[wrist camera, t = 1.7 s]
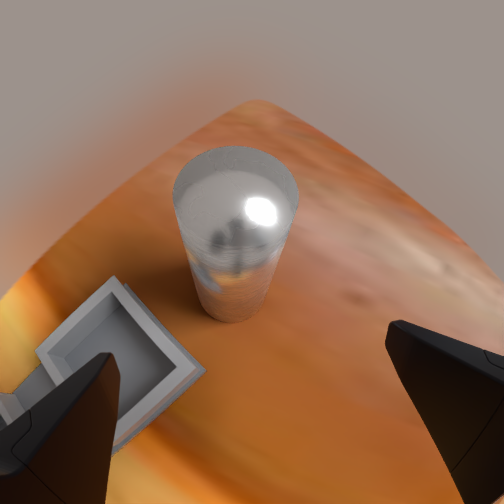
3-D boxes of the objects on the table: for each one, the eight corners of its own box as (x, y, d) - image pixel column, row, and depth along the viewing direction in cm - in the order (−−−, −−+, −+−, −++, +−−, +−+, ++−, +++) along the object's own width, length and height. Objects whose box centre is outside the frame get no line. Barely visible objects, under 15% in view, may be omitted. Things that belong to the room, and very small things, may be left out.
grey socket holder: (34, 517, 12) (13, 526, 9) (-21, 438, 14) (-45, 437, 11) (206, 370, 20) (202, 367, 17) (129, 287, 22) (115, 269, 19)
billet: (264, 324, 22) (301, 251, 11) (194, 320, 21) (161, 241, 11) (265, 261, 24) (296, 151, 13) (201, 257, 24) (184, 143, 13)
